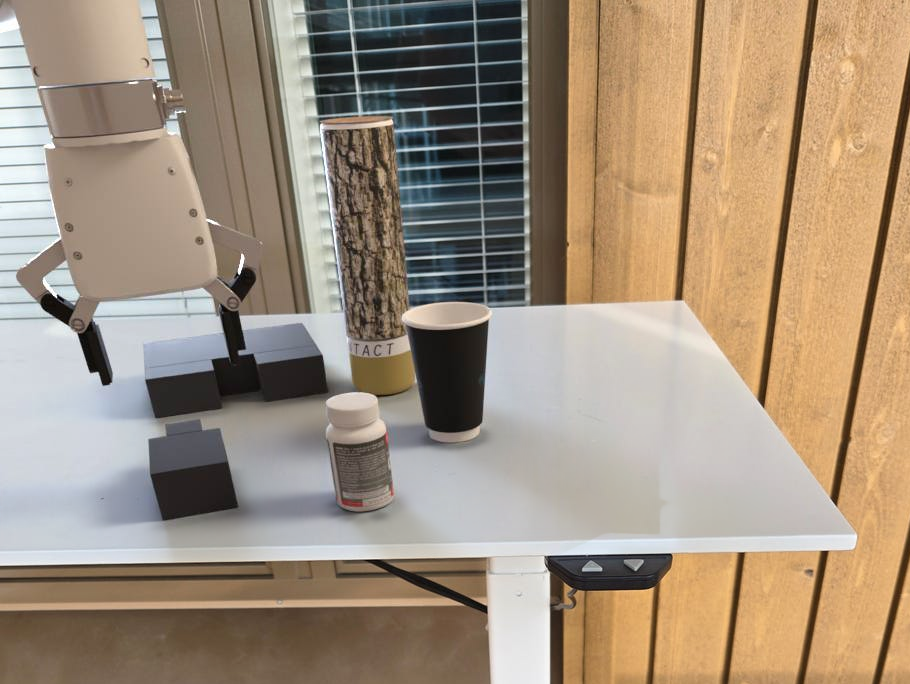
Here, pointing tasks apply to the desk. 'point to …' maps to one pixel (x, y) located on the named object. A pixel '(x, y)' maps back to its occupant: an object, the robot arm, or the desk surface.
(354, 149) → the paper tube
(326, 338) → the desk surface
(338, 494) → the pill bottle
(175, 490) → the dark grey stepped block
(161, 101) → the robot arm
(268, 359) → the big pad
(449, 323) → the dixie cup
